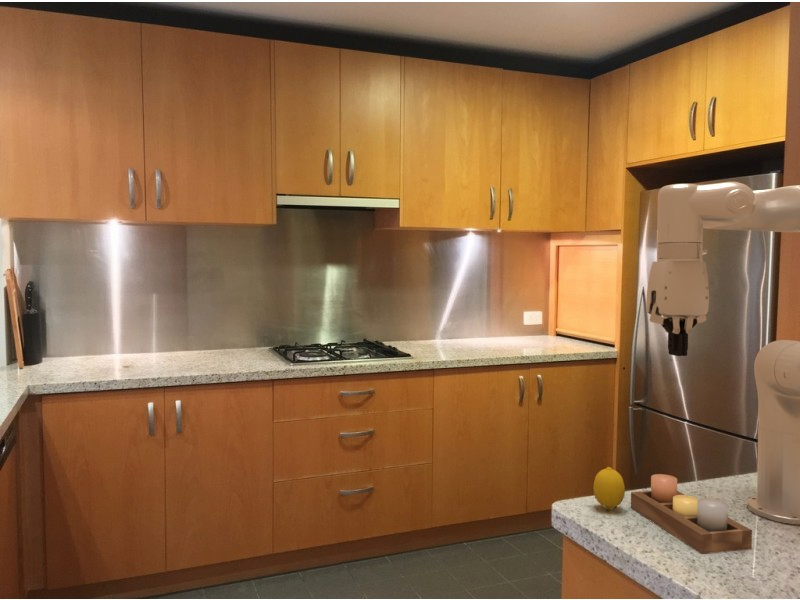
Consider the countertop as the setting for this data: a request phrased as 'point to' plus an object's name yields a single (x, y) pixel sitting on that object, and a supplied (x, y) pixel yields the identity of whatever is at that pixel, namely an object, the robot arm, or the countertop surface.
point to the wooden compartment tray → (691, 526)
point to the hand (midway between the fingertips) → (677, 354)
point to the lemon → (609, 488)
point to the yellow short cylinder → (685, 505)
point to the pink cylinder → (663, 488)
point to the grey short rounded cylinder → (712, 514)
